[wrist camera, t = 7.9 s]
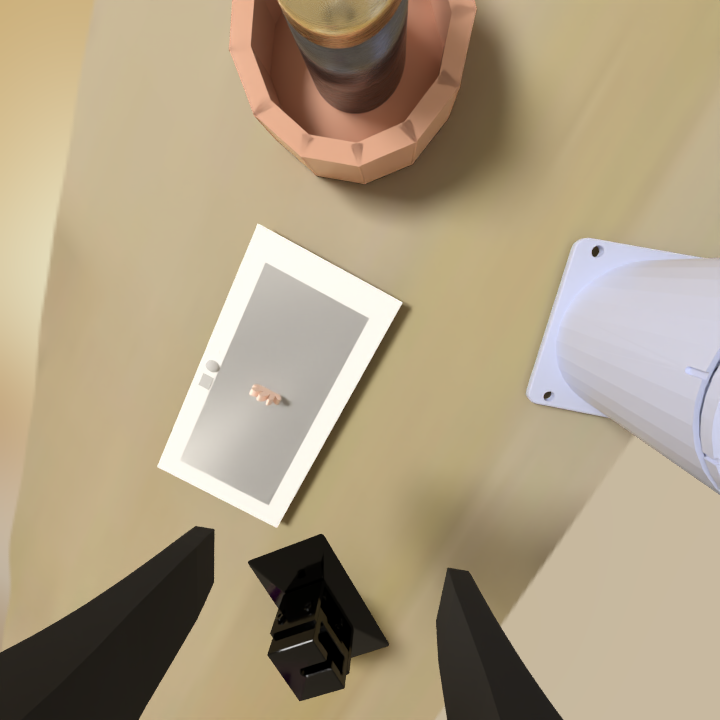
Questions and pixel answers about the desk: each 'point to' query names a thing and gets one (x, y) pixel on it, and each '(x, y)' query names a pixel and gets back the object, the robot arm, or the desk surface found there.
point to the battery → (351, 48)
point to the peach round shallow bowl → (340, 129)
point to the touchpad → (275, 376)
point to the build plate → (315, 617)
